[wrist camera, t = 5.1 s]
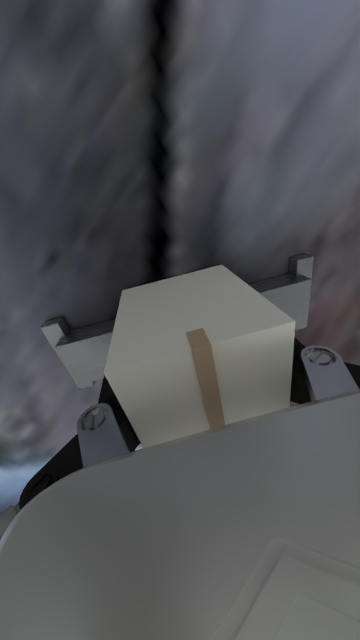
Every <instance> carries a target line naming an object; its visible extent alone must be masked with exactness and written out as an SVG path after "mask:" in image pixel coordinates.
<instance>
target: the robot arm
mask: <svg viewBox="0 0 360 640" xmlns="http://www.w3.org/2000/svg"><path fill="white" fill-rule="evenodd" d="M291 401H292V402H295V403H296V406H292V407H289V408H285V409H281V410H278V411H274V412H271V413H267V414H263V415H260V416H256V417H253V418H249V419H245V420H242V421H238V422H235V423H231V424H227V425H224V426H220V427H217V428H213V429H210V430H206V431H203V432H199V433H196V434H192V435H189V436H185V437H182V438H178V439H175V440H171V441H168V442H164V443H161V444H157V445H154V446H150V447H147V448H143V449H140V450H136V451H135V449H136V447H137V446H138V445H139V444H140V443H141V442H140V440H139V438H138V436H137V435H136V433H135V431H134V429H133V427H132V425H131V423H130V421H129V420H128V418H127V416H126V414H125V412H124V410H123V408H122V406H121V405H120V403H119V401H118V399H117V397H116V395H115V393H114V391H113V390H112V388H111V386H110V384H109V382H108V380H107V378H106V377H105V375H104V379H103V383H102V388H101V393H100V397H99V402H98V404H95V405H93V406H91V407H90V408H88V409H87V410H86V411H85V412H84V413H83V414H82V415H81V416H80V418H79V420H78V422H77V433H78V434H77V435H76V436H75V437H74V438H73V439H72V440H70V441H69V442H68V443H67V444H66V445H65V446H64V447H63V448H62V449H61V450H60V451H59V452H58V453H57V454H56V455H55V456H54V457H53V458H52V459H51V460H50V461H49V462H48V463H47V464H46V465H45V466H44V467H43V468H42V469H41V470H39V471H38V472H37V473H36V474H35V475H34V476H33V477H32V479H31V480H30V481H29V482H28V483H27V485H26V486H25V488H24V489H23V492H22V494H21V496H20V501H19V503H18V504H17V505H16V506H15V507H14V506H13V505H11V506H10V507H9V508H8V509H7V510H6V511H5V512H4V513H3V514H2V515H1V516H0V640H360V366H359V365H354V364H349V363H345V362H343V360H342V358H341V357H340V355H339V354H338V353H337V352H336V351H334V350H333V349H330V348H328V347H324V346H316V345H315V346H309V347H305V346H304V345H303V344H301V343H300V342H299V341H298V340H297V339H296V338H295V337H294V350H293V364H292V379H291V393H290V402H291Z"/></svg>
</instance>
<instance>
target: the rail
mask: <svg viewBox="0 0 360 640" xmlns="http://www.w3.org/2000/svg"><path fill="white" fill-rule="evenodd" d="M313 260H314V256H311V255H308V254H301V255H297V256H293V257H289V273H287V274H283V275H279V276H275V277H272V278H268V279H264V280H260V281H257V282H253V283H249V284H248V285H249V286H251V287H252V288H253V289H254V290H256V291H257V292H258V293H260V294H261V295H262V296H264V297H265V298H266V299H267V300H269V301H270V302H271V303H273V304H274V305H275V306H276V307H278V308H279V309H280V310H282V311H283V312H284V313H286V314H287V315H288V316H289V317H291V318H292V319H293V320H295V330H298V329H302V328H305V327H307V323H308V313H309V303H310V293H311V283H312V270H313ZM115 320H116V319H113V320H109V321H105V322H101V323H97V324H94V325H90V326H86V327H82V328H78V329H75V330H71V331H70V330H69V328H68V326H67V325H66V323H65V321H64V319H63V318H62V317H60V318H56V319H52V320H49V321H45V323H44V324H43V325H42V326H41V328H40V329H41V330H42V332H43V333H44V335H45V337H46V338H47V340H48V341H49V343H50V344H51V346H52V347H53V349H54V351H55V352H56V354H57V355H58V357H59V358H60V360H61V361H62V363H63V364H64V366H65V368H66V369H67V371H68V372H69V374H70V375H71V377H72V378H73V380H74V382H75V383H76V385H77V386H78V388H79V389H82V388H85V387H89V386H93V385H94V383H95V381H96V380H100V379H103V378H104V370H105V365H106V361H107V356H108V352H109V347H110V343H111V338H112V334H113V329H114V325H115Z"/></svg>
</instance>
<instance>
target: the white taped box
mask: <svg viewBox="0 0 360 640" xmlns="http://www.w3.org/2000/svg"><path fill="white" fill-rule="evenodd" d="M294 335H295V320H293V319H292V318H291V317H289V316H288V315H287V314H286V313H284V312H283V311H282V310H280V309H279V308H278V307H276V306H275V305H274V304H273V303H271V302H270V301H269V300H267V299H266V298H265V297H264V296H262V295H261V294H260V293H258V292H257V291H256V290H254V289H253V288H252V287H251V286H249V285H248V284H247V283H245V282H244V281H243V280H242V279H240V278H239V277H238V276H236V275H235V274H234V273H232V272H231V271H230V270H229V269H227V268H226V267H225V266H223V265H218V266H214V267H210V268H206V269H203V270H199V271H195V272H191V273H187V274H183V275H180V276H176V277H172V278H168V279H164V280H160V281H156V282H153V283H149V284H145V285H141V286H137V287H133V288H130V289H126V290H122V294H121V298H120V303H119V307H118V312H117V316H116V320H115V325H114V329H113V334H112V338H111V343H110V347H109V352H108V356H107V361H106V365H105V370H104V375H105V377H106V378H107V380H108V382H109V384H110V386H111V388H112V390H113V391H114V393H115V395H116V397H117V399H118V401H119V403H120V405H121V406H122V408H123V410H124V412H125V414H126V416H127V418H128V420H129V421H130V423H131V425H132V427H133V429H134V431H135V433H136V435H137V436H138V438H139V440H140V442H141V444H142V446H143V448H147V447H150V446H154V445H157V444H161V443H164V442H168V441H171V440H175V439H178V438H182V437H185V436H189V435H192V434H196V433H199V432H203V431H206V430H210V429H213V428H217V427H220V426H224V425H227V424H231V423H235V422H238V421H242V420H245V419H249V418H253V417H256V416H260V415H263V414H267V413H271V412H274V411H278V410H281V409H285V408H289V407H290V393H291V379H292V364H293V350H294Z"/></svg>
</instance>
